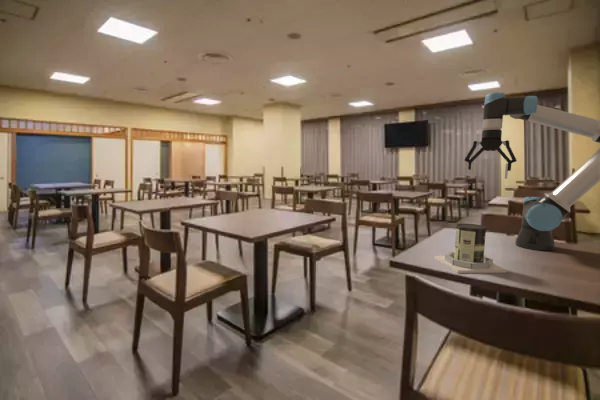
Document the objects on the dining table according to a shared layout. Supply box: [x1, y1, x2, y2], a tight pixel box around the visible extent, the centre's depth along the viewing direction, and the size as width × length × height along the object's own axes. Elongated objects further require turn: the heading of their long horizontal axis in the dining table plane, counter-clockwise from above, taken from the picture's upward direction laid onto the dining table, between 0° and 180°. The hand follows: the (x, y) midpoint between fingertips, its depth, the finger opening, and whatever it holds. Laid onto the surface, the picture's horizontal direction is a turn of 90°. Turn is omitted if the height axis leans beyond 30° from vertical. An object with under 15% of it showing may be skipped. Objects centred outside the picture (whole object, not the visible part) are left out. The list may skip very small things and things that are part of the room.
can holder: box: [433, 251, 507, 274], centre depth 131 cm, size 18×18×3 cm
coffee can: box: [454, 223, 487, 263], centre depth 130 cm, size 10×10×14 cm
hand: (488, 177), depth 154 cm, fingers open, 13 cm apart
